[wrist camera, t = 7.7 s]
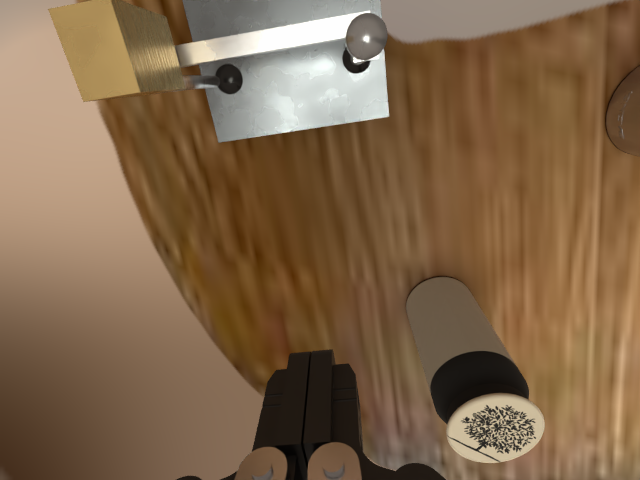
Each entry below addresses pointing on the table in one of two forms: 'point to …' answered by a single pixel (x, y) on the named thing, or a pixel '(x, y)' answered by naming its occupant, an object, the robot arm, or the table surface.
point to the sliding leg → (121, 51)
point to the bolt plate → (288, 63)
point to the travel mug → (471, 375)
